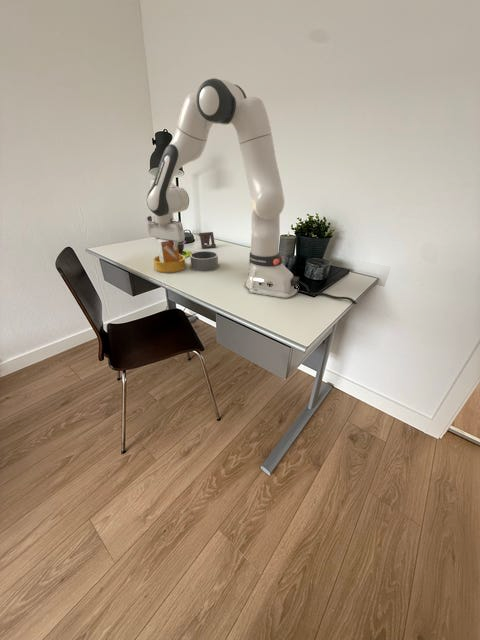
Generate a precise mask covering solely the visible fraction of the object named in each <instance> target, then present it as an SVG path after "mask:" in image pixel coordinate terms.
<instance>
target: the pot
mask: <svg viewBox="0 0 480 640" xmlns="http://www.w3.org/2000/svg"><path fill="white" fill-rule="evenodd" d="M189 259H190V268H191V269H192V270H194V271H197V272H210V271H215V270H216V269H218V268H219V255H218V253H217V252H215V251H211V250H199V251H195V252H192V253H190V256H189Z"/></svg>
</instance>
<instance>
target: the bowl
mask: <svg viewBox="0 0 480 640" xmlns="http://www.w3.org/2000/svg"><path fill="white" fill-rule="evenodd" d="M152 260H153V265H154V270H155V271H157V272H160V273H165V274H166V273H167V274H168V273H177V272H181V271H183V270H184V269H185V268H186V265H187V264H186V257H184V256H183V255H179V260H180V261H177V262H171V263H162V262H160V259H159V255H156V256H155V257H153V259H152Z"/></svg>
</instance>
